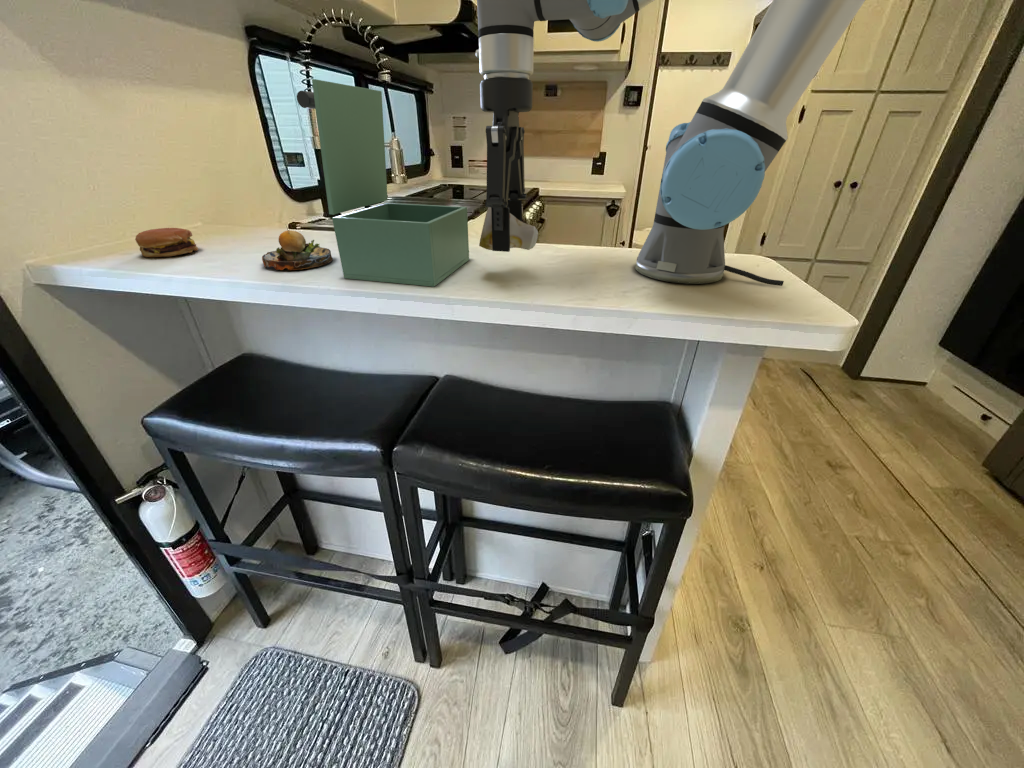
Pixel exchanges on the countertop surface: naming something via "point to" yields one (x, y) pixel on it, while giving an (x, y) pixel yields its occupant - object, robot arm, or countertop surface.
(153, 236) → the burger
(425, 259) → the cool box
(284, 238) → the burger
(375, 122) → the cool box lid
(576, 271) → the countertop surface
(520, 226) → the mug
